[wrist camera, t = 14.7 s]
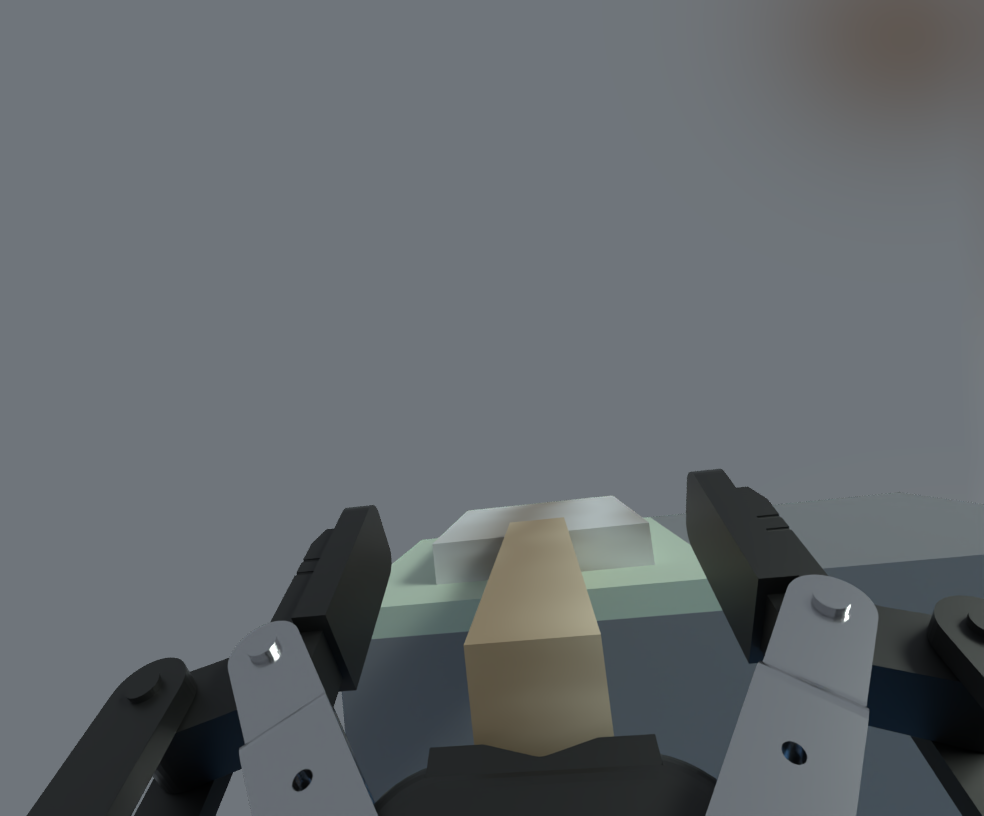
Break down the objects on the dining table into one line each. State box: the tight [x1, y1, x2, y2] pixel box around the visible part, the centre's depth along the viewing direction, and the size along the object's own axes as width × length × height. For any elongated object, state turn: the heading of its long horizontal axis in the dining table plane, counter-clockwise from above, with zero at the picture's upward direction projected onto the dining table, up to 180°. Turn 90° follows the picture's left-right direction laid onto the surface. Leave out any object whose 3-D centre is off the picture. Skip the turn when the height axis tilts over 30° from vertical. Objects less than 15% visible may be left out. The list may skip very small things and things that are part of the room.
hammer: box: [432, 496, 655, 757], centre depth 17 cm, size 8×20×2 cm, turn 174°
